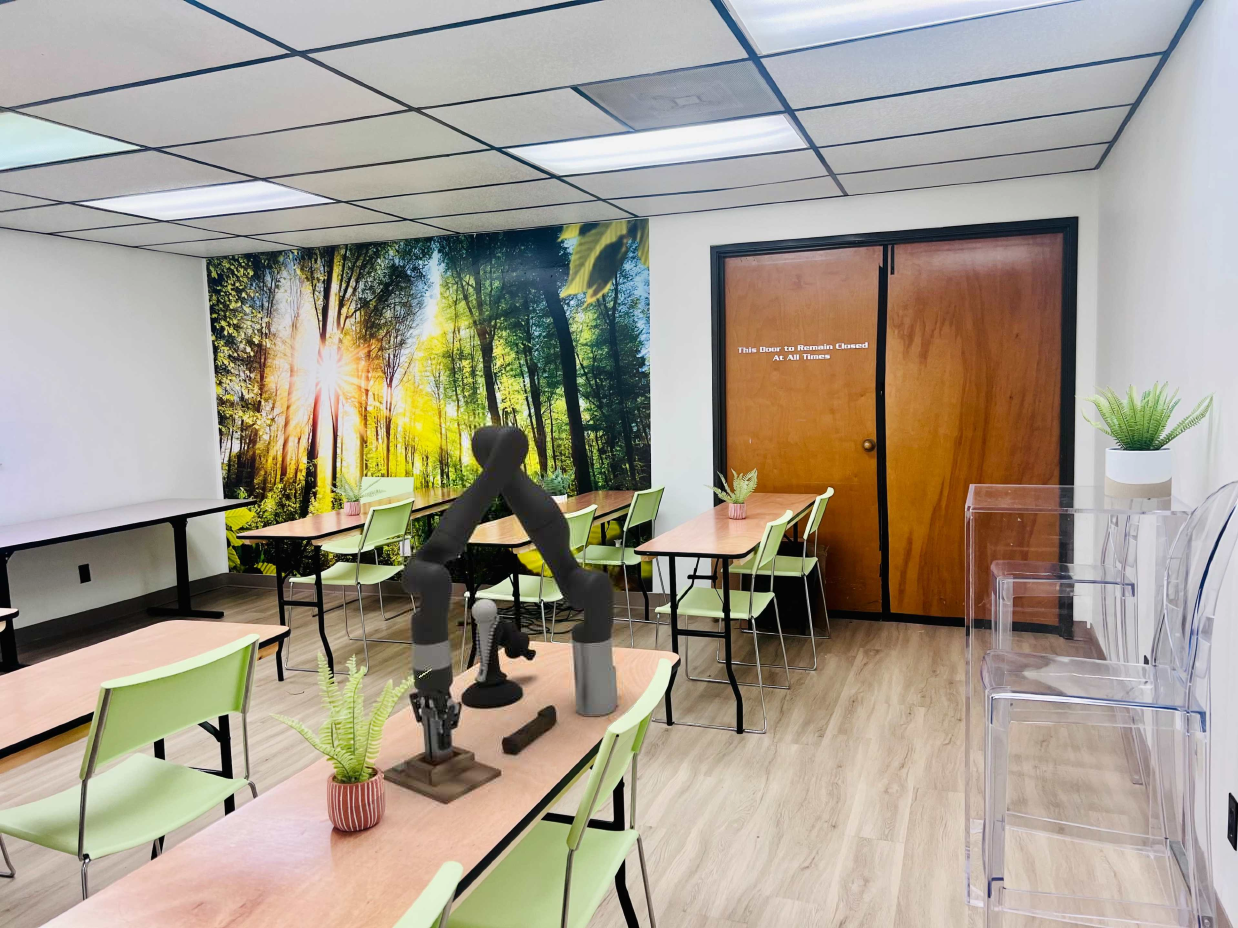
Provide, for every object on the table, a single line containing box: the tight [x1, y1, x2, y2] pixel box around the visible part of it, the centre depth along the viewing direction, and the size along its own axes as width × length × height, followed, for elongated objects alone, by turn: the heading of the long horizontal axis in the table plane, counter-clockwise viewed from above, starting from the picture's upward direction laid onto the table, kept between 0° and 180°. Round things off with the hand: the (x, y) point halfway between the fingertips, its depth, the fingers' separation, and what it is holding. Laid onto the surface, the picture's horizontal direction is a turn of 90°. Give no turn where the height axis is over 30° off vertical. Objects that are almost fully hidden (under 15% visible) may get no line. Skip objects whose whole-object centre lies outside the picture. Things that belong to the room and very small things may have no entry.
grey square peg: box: [422, 706, 454, 767], centre depth 168 cm, size 4×4×13 cm
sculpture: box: [460, 598, 537, 710], centre depth 214 cm, size 15×24×25 cm, turn 147°
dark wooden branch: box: [501, 705, 558, 756], centre depth 186 cm, size 19×4×5 cm, turn 151°
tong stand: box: [381, 745, 502, 805], centre depth 169 cm, size 14×20×4 cm
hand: (438, 746), depth 169 cm, fingers closed on grey square peg, 3 cm apart
